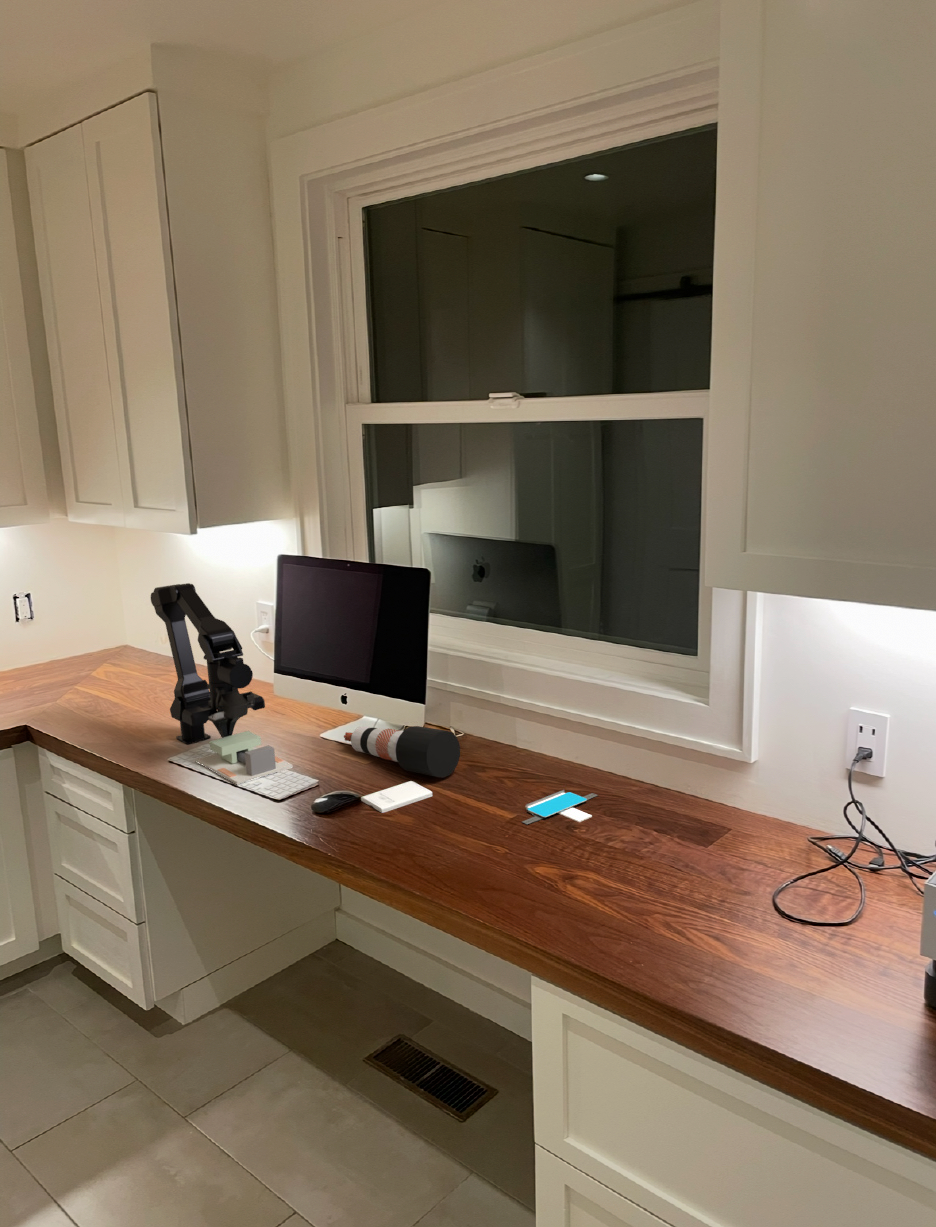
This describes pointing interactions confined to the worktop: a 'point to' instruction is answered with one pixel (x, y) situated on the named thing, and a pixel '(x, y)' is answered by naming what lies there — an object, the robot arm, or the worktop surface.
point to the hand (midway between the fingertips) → (227, 743)
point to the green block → (235, 745)
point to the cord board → (237, 767)
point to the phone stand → (558, 806)
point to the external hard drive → (396, 796)
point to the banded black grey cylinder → (410, 748)
